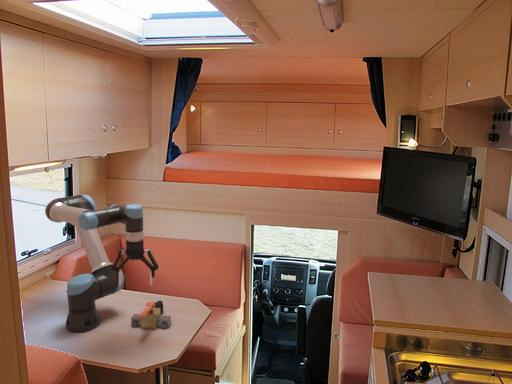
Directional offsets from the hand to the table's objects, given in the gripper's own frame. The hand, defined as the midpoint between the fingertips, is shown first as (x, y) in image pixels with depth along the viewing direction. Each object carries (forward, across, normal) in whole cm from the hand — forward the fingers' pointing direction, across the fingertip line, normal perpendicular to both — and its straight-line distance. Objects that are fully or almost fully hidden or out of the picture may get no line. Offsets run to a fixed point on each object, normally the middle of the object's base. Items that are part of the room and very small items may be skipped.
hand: (135, 284), depth 183 cm
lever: (+13, +5, -1) cm, 14 cm away
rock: (+23, +6, +14) cm, 28 cm away
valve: (+23, +6, +4) cm, 24 cm away
